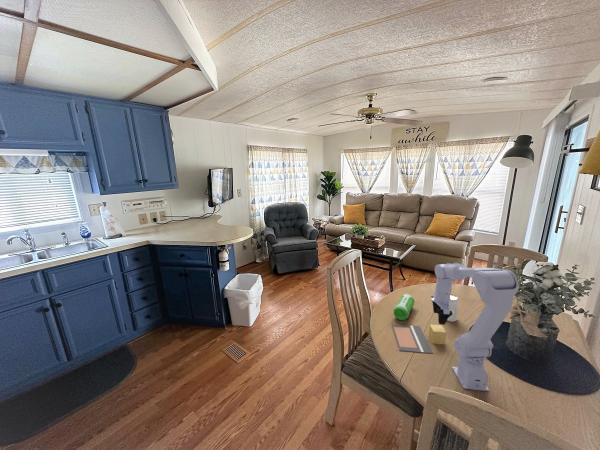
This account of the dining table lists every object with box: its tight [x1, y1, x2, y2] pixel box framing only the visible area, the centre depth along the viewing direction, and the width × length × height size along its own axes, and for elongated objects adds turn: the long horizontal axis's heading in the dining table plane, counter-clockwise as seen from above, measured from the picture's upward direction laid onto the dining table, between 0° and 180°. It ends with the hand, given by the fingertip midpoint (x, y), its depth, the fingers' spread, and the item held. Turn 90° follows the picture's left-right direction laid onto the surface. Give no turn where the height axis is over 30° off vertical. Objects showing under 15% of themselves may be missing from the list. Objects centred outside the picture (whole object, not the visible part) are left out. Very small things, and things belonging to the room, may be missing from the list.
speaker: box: [393, 293, 415, 321], centre depth 131 cm, size 18×7×8 cm, turn 144°
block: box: [428, 324, 447, 345], centre depth 109 cm, size 5×5×6 cm
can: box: [446, 294, 460, 323], centre depth 124 cm, size 6×6×12 cm
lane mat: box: [391, 324, 434, 354], centre depth 111 cm, size 18×13×1 cm
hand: (438, 318), depth 107 cm, fingers open, 7 cm apart
